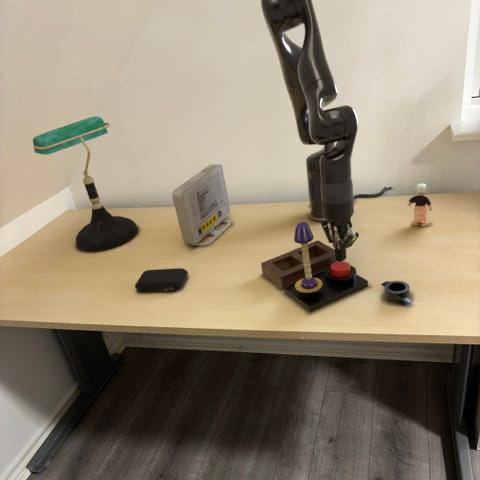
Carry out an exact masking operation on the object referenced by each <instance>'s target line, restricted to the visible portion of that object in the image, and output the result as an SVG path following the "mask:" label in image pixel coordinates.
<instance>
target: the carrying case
mask: <svg viewBox="0 0 480 480" xmlns="http://www.w3.org/2000/svg"><path fill="white" fill-rule="evenodd" d="M188 275H189V272H188V271H187V270H186V269H185V268H182V267H180V268H177V267H176V268H159V269H147V270H144V271H143V272H142V274H141V275H140V277H139V278H138V279H137V281H136V283H135V285H134V288H135V289H136V291H139V292H160V291H161V292H163V291H164V292H169V291H177V290H180V289H181V288H182V287H183V285H184V283H185V282H186V279H187V277H188Z"/></svg>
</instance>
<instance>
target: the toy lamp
mask: <svg viewBox="0 0 480 480" xmlns="http://www.w3.org/2000/svg"><path fill="white" fill-rule="evenodd" d="M314 238H315V237H314V234H313V232H312V229H311V227H310V224H309V223H308V222H306V221H301V222H298V223H296V224H295V229H294V237H293V240H294V243H296V244H298V245H299V244H300V247H301V250H302V256H303V262H304V268H305V269H304V271H305V277H306V278H304V279H303V280H302V282H301V287H302V288H304V289H312V288H314V287H316V286H317V285H318V282H317V280H316V279H315V278H313V277H312V274H311V268H310V267H311V264H310V258H309V252H308V246H307V245H308V244H310V243H312V242H313V240H314Z"/></svg>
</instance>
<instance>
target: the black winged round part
mask: <svg viewBox="0 0 480 480" xmlns="http://www.w3.org/2000/svg"><path fill="white" fill-rule="evenodd" d="M380 285H381V286H382V287H384V300H385V301H387V303H391V304H404V303H406V304H412V303H414V301H413V300H412V299H411V298H410V284H409V283H407V282H406V281H402V280H391V281H388V280H387V281H384V282H382V283H381V284H380Z"/></svg>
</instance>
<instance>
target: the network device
mask: <svg viewBox="0 0 480 480" xmlns="http://www.w3.org/2000/svg"><path fill="white" fill-rule="evenodd" d="M223 168H224V167H223V166H222V164H220V163H219V164H218V163H216V164H213V163H210V164H209V165H207V166H206V167H205V168H203V169H201V170H200V171H198V172H197V173H196V174H194V175H193V176H192V177H190V178H189V179H188V180H186V181H184V182H183V183H181V184H180V185H179V186H177V187H176V188H174V189H173V191H172V193H171V197H172V201H173V206H174V209H175V214H176V217H177V223H178V225H179V229H180V234H181V237H182V241H183V244H188V245H190V246H194V247H206V246H209V245H211V244H212V243H213V242H215V241H216V240H217V238H219V237H220V236H221V235H222V234H223V233H224V232H225V231H226V230H227V229H228V228H229V227H231V225H232V221H231V220H229V219H226V218H227V217H228V216H229V215H230V213H231V207H230V200H229V196H228V191H227V184H226V179H225V174H224V169H223ZM219 224H225V226H224V227H222V228H220V229H215V228H216V227H217V226H218V225H219ZM206 236H212V238H210V239H209V240H208V241H207V242H200V241H201V240H202V239H203V238H205V237H206Z"/></svg>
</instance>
